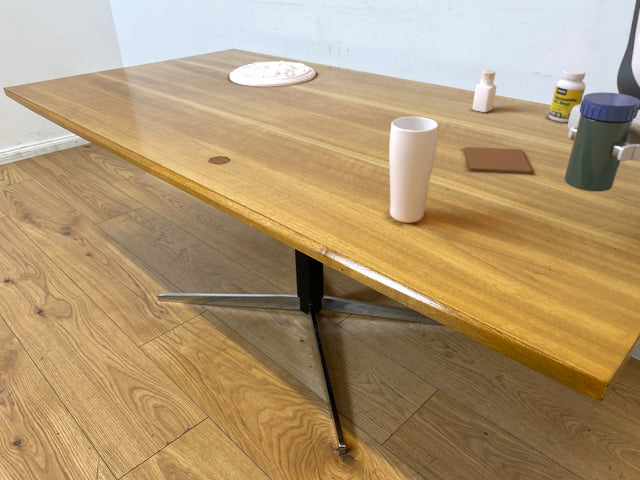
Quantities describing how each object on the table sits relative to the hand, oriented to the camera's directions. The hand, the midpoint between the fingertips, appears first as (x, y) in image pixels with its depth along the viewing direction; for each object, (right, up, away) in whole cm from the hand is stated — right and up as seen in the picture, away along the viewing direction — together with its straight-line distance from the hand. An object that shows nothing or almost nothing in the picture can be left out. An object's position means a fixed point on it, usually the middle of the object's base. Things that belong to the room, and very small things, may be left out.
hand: (593, 143), depth 61 cm
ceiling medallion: (-50, +42, +97) cm, 117 cm away
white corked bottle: (+7, +21, +62) cm, 65 cm away
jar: (+1, -5, +3) cm, 6 cm away
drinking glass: (-21, -9, +15) cm, 27 cm away
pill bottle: (+23, +17, +55) cm, 62 cm away
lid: (+1, +5, -2) cm, 5 cm away
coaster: (0, +3, +33) cm, 34 cm away
